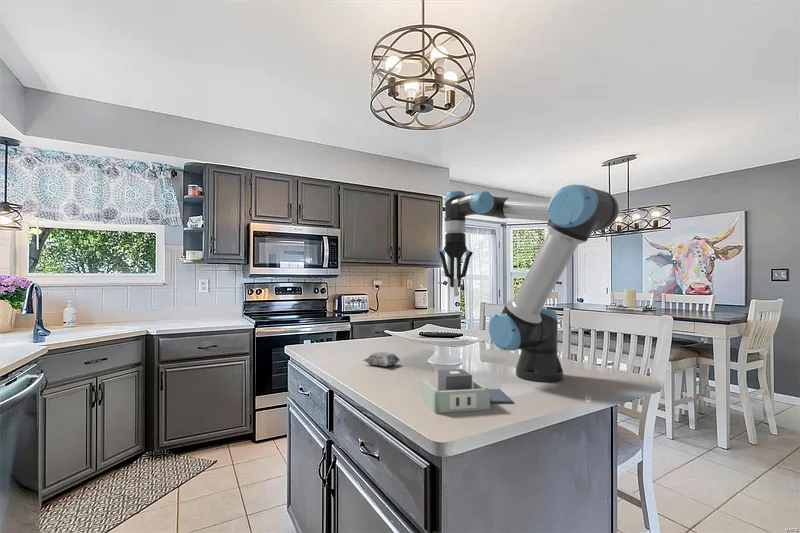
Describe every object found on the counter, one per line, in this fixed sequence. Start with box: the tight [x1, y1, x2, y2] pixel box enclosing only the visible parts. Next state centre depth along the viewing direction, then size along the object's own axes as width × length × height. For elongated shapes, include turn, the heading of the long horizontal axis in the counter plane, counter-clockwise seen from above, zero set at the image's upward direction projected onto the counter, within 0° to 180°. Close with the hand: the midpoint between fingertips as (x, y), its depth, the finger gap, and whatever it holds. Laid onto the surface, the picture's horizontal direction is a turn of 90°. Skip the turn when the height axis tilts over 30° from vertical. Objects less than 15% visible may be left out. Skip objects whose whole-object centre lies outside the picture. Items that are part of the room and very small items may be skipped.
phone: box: [489, 388, 514, 405], centre depth 109 cm, size 6×12×1 cm, turn 3°
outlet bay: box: [421, 377, 491, 414], centre depth 103 cm, size 14×12×5 cm
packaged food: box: [362, 351, 401, 368], centre depth 147 cm, size 9×12×5 cm
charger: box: [437, 368, 473, 391], centre depth 104 cm, size 7×7×8 cm
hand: (455, 296), depth 145 cm, fingers closed
